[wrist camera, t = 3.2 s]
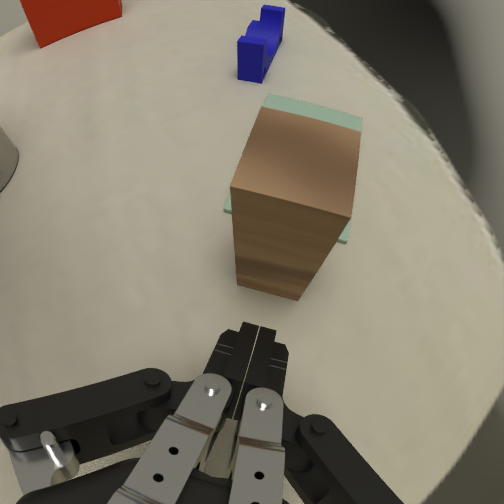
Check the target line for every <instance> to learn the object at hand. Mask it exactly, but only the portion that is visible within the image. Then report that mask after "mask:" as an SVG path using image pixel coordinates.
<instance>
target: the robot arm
mask: <svg viewBox="0 0 504 504" xmlns="http://www.w3.org/2000/svg"><path fill="white" fill-rule="evenodd" d="M17 161H18V151H17V148H16V147H15V146H14V144H13V143H12V142H11V140H10V139H9V138H8V136H7V135H6V134H5V132H4V131H3V129H2V128H1V127H0V191H1V190H2V189H3V187H4V186H5V185H6V184H7V182H8V181H9V179H10V178H11V176H12V174H13V172H14V170H15V168H16V165H17ZM258 328H259V326H258V325H254V324H250V323H247V322H243V323H242V326H241V328H240V331H239V332H237V331H233V330H230V329H228V330H226V331H225V332H224V333H222V334H221V335H220V337H219V339H218V342H217V344H216V346H215V348H214V350H213V353H212V355H211V357H210V359H209V361H208V364H207V366H206V368H205V370H204V372H203V374H202V375H200V376H198V377H197V378H196V379H195V380H193V381H190V382H177V381H171V378H170V377H169V375H168V374H167V373H165V372H164V371H162V370H159V369H156V368H146V369H142V370H139V371H136V372H133V373H129V374H126V375H123V376H119V377H116V378H112V379H109V380H106V381H102V382H99V383H95V384H91V385H88V386H84V387H80V388H77V389H73V390H69V391H65V392H61V393H57V394H53V395H49V396H45V397H41V398H36V399H32V400H28V401H23V402H19V403H14V404H9V405H5V406H2V407H0V438H1V440H2V443H3V444H4V446H5V447H6V448H7V450H8V451H9V454H10V457H11V460H12V464H13V467H14V470H15V473H16V476H17V479H18V481H19V484H20V487H21V490H22V492H23V495H24V496H22V497H21V498H20V499H19V500H18V502H17V503H16V504H289V503H288V502H287V501H285V500H284V499H283V498H282V495H283V480H284V475H285V477H286V478H287V480H288V481H289V483H290V484H291V485H292V487H293V488H294V490H295V491H296V492H297V494H298V495H299V497H300V498H301V499H302V501H303V502H304V504H404V503H403V502H402V501H401V500H400V499H399V498H398V497H397V496H396V494H395V493H394V492H393V491H392V490H391V489H390V488H389V487H388V486H387V484H386V483H385V482H384V481H383V480H382V479H381V478H380V477H379V475H378V474H377V473H376V472H375V471H374V470H373V469H372V467H371V466H370V465H369V464H368V463H367V462H366V461H365V459H364V458H363V457H362V456H361V455H360V454H359V453H358V451H357V450H356V449H355V448H354V447H353V446H352V444H351V443H350V442H349V441H348V440H347V438H346V437H345V436H344V435H343V434H342V433H341V431H340V430H339V429H338V428H337V427H336V425H335V424H334V423H333V422H332V421H331V420H330V419H329V418H327V417H325V416H322V415H318V414H312V415H308V416H306V417H302V416H300V415H298V414H296V413H294V412H292V411H291V410H290V409H289V408H288V407H287V406H286V405H285V403H284V401H283V397H282V395H283V388H284V382H285V375H286V369H287V362H288V355H289V353H288V350H287V348H286V345H285V344H281V343H277V342H274V340H275V336H276V330H273V329H269V328H265V327H262V326H261V327H260V330H259V334H258V337H257V341H256V344H255V347H254V351H253V354H252V358H251V361H250V365H249V368H248V371H247V375H246V378H245V382H244V385H243V388H242V392H241V395H240V399H239V402H238V405H237V409H236V412H235V415H234V420H238V423H237V426H236V430H235V433H234V436H233V440H232V446H231V451H230V456H229V461H228V466H227V471H226V475H225V478H215V477H211V476H209V475H207V474H205V473H203V470H204V468H205V465H206V463H207V461H208V459H209V457H210V454H211V452H212V450H213V448H214V446H215V443H216V441H217V439H218V437H219V435H220V432H221V430H222V428H223V427H224V424H225V421H226V418H230V419H232V416H233V413H234V410H235V406H236V403H237V400H238V397H239V393H240V390H241V387H242V384H243V380H244V377H245V374H246V370H247V367H248V364H249V360H250V357H251V353H252V350H253V346H254V343H255V339H256V335H257V332H258ZM149 440H152V441H151V442H150V444H149V446H148V447H147V449H146V450H145V452H144V453H143V455H142V457H141V458H133V459H127V460H124V461H121V462H118V463H116V464H113V465H110V466H108V467H105V468H103V469H100V470H97V471H94V472H92V473H89V474H86V475H83V476H80V477H77V478H74V479H72V478H73V477H75V476H76V475H77V473H78V471H79V468H80V464H83V463H86V462H89V461H92V460H95V459H99V458H102V457H105V456H108V455H111V454H114V453H116V452H119V451H122V450H125V449H128V448H130V447H133V446H136V445H139V444H141V443H144V442H146V441H149ZM69 479H71V480H69ZM67 480H68V481H67Z"/></svg>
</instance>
